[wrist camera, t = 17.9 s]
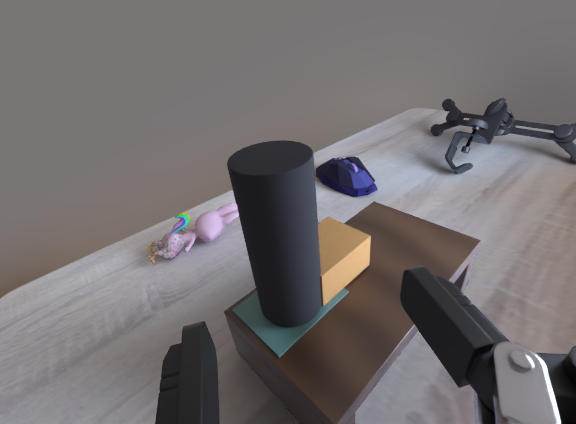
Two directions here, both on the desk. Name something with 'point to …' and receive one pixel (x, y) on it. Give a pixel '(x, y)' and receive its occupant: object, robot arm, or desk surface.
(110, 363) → the desk surface
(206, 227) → the rabbit figure
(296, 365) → the low wooden bench
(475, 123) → the tablet mount
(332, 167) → the computer mouse
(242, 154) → the cylinder with tan block
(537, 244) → the desk surface
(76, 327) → the desk surface
